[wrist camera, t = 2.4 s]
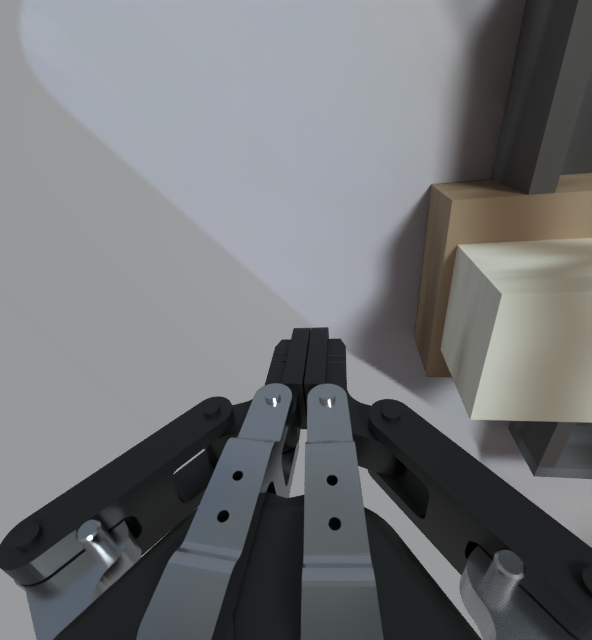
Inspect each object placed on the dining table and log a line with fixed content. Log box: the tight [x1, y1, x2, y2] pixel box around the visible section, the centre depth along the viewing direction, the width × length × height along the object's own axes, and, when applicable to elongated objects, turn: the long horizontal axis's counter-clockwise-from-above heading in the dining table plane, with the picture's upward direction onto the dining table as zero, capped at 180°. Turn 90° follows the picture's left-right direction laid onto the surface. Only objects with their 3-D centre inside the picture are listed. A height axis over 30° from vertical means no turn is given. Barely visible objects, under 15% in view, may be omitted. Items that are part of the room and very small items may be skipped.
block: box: [441, 238, 592, 423], centre depth 14 cm, size 6×6×5 cm
